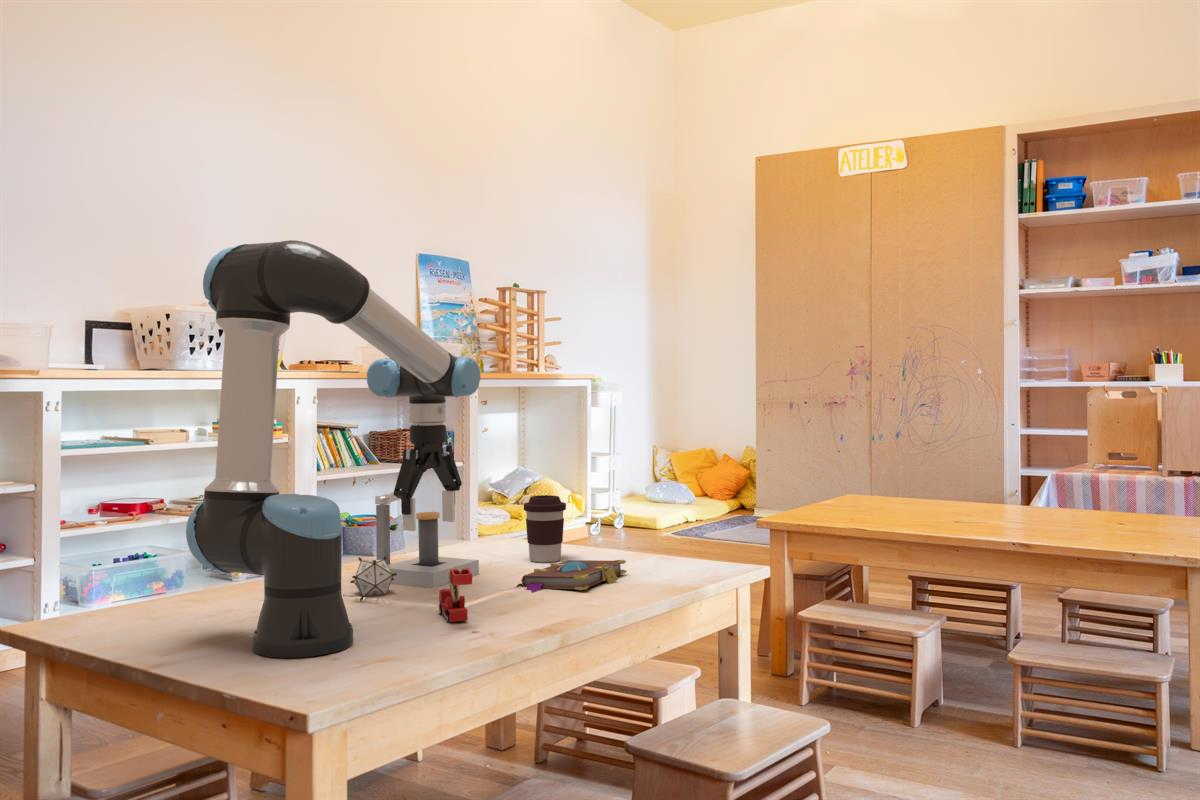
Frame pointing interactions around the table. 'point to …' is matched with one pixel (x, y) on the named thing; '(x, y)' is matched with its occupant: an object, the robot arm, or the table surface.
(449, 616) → the toy fire truck
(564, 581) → the book
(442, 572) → the socket block
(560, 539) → the coffee cup
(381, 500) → the silver ball-ended lever
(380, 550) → the post
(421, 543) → the plug
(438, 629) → the table surface
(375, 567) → the game die
